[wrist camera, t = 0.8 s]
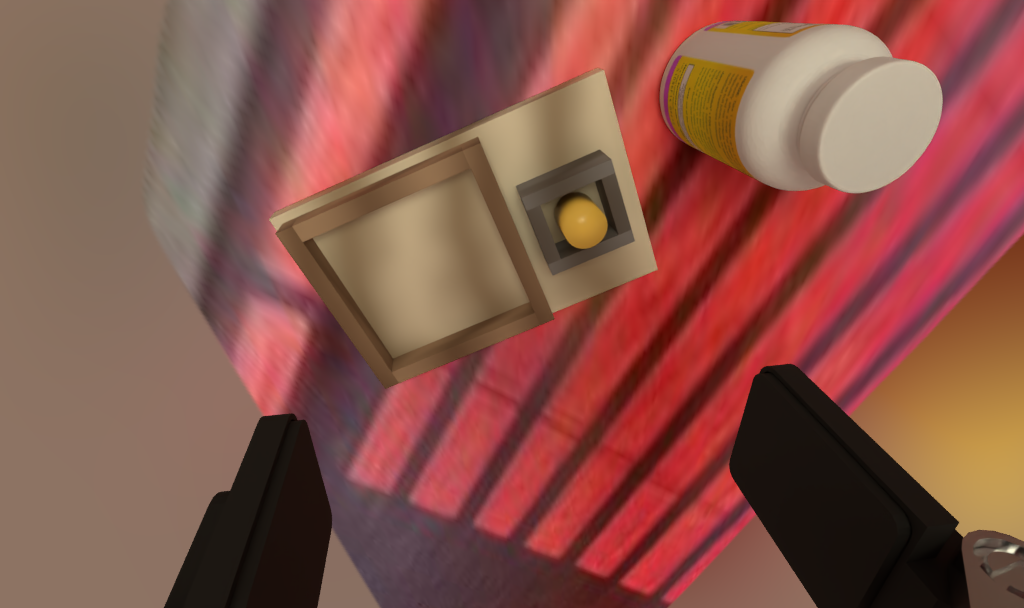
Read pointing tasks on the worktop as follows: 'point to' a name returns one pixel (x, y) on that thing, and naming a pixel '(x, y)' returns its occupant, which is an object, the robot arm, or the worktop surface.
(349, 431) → the worktop surface
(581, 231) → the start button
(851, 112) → the supplement bottle
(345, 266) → the beige tray
